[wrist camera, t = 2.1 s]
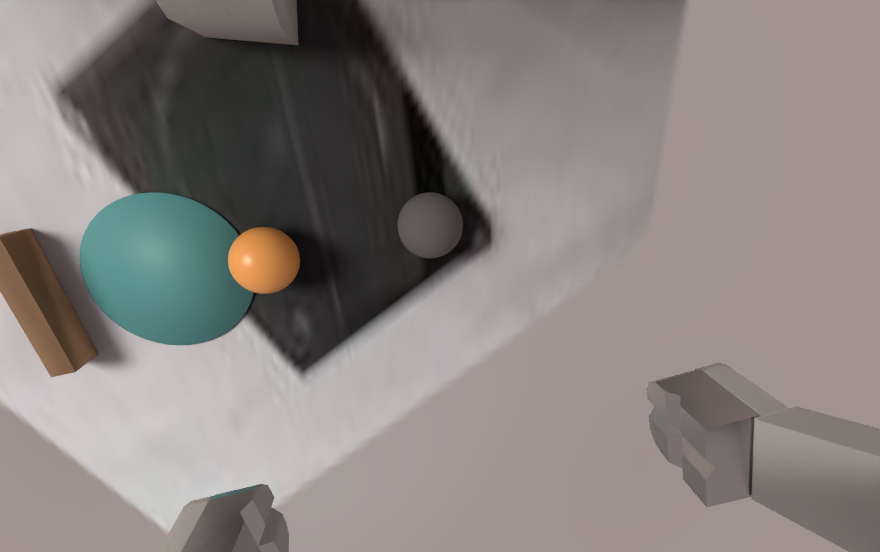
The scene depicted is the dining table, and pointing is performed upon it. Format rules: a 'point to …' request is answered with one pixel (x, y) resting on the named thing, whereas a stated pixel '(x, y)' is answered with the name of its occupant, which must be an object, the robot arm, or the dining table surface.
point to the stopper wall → (42, 305)
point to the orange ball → (264, 260)
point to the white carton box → (237, 19)
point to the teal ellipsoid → (163, 268)
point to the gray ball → (430, 225)
